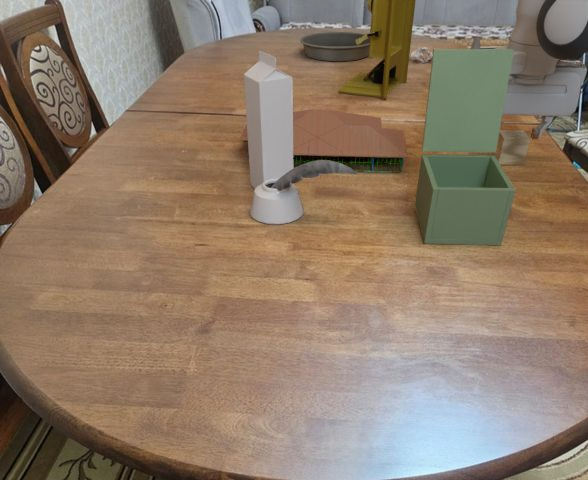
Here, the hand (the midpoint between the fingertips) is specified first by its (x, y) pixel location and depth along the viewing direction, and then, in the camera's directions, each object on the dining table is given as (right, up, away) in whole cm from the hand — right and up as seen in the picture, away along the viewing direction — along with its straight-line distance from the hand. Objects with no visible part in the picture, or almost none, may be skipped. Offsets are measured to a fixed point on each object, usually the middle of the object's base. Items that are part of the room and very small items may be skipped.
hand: (510, 137), depth 106 cm
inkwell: (-41, -19, -15) cm, 47 cm away
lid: (-16, -3, -23) cm, 28 cm away
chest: (-16, -21, -18) cm, 32 cm away
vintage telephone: (-20, +31, +44) cm, 57 cm away
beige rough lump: (-1, +49, +66) cm, 82 cm away
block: (+1, -3, +3) cm, 4 cm away
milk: (-46, -12, -6) cm, 48 cm away
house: (-36, 0, +8) cm, 37 cm away
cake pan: (-28, +57, +75) cm, 98 cm away
